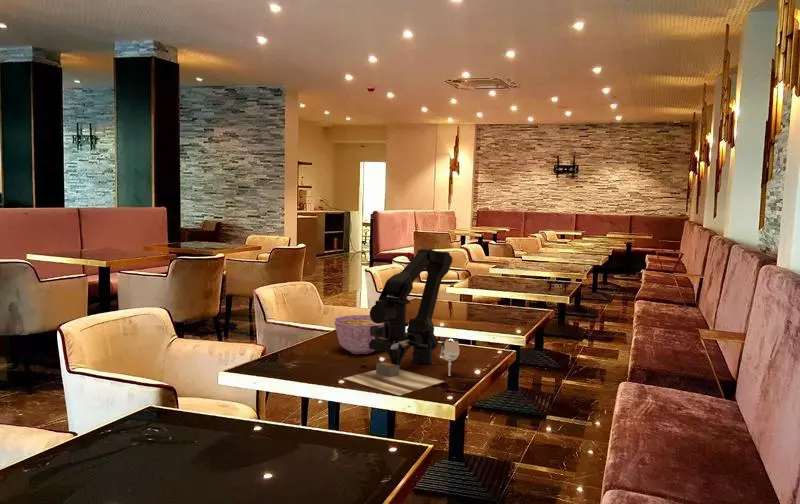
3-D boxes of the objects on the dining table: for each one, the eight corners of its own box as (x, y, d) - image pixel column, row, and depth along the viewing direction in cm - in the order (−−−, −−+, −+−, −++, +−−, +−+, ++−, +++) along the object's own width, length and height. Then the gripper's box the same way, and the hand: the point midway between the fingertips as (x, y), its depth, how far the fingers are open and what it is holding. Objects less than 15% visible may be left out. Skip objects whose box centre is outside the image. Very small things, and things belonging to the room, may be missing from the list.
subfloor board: (388, 369, 211) (389, 366, 211) (444, 384, 196) (444, 381, 196) (343, 381, 197) (343, 378, 196) (399, 398, 181) (399, 395, 181)
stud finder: (384, 371, 206) (385, 361, 205) (399, 374, 201) (399, 364, 201) (376, 373, 203) (376, 363, 202) (390, 377, 199) (390, 367, 198)
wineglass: (457, 381, 199) (458, 343, 198) (438, 380, 200) (439, 341, 199) (459, 376, 204) (460, 339, 203) (441, 375, 206) (442, 337, 205)
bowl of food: (388, 359, 224) (389, 326, 223) (330, 358, 224) (330, 324, 223) (390, 346, 244) (390, 315, 243) (336, 344, 244) (337, 314, 243)
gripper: (397, 312, 215) (396, 358, 217) (357, 319, 202) (355, 368, 203) (423, 317, 208) (422, 365, 209) (383, 324, 194) (381, 375, 196)
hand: (395, 368), depth 204 cm, fingers closed
